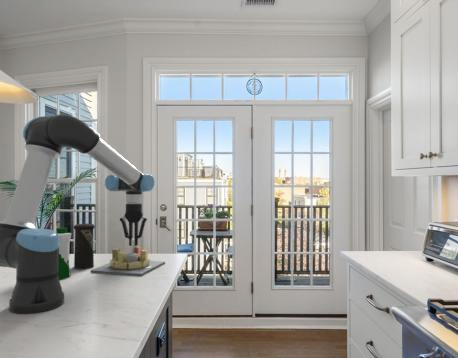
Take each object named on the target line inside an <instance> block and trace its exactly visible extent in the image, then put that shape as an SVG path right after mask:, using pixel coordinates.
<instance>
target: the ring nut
mask: <svg viewBox="0 0 458 358" xmlns="http://www.w3.org/2000/svg"><path fill="white" fill-rule="evenodd" d="M111 251H112V255H111V257H112V258H111V259H110V260H109V263H110V266H111V267H112V268H114V269H125V270H127V269H137V268H142V267H145V266H147V265H149V261H150V258H149V256H148V255H149V253H148V252H149V250H148V249H147V250H146V249H142V246H136V247H134V253H136V254H138V261H137V262H126V254H127V252H125V251H121V249H120V248H112V250H111Z"/></svg>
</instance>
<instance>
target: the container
mask: <svg viewBox="0 0 458 358" xmlns="http://www.w3.org/2000/svg"><path fill="white" fill-rule="evenodd" d="M95 227H96V225H95V224H93V223H76V224H75V225H73V229H74V255H73V257H74V259H73V261H74V262H73V267H74V269H77V270H85V269H86V270H87V269H91V268H93V267H95V266H94V265H95V260H94V259H95V258H94V256H95V255H94V253H95V251H94V248H95V247H94V244H95V243H94V229H95Z"/></svg>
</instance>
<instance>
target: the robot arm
mask: <svg viewBox="0 0 458 358" xmlns="http://www.w3.org/2000/svg"><path fill="white" fill-rule="evenodd" d="M22 131H23V132H22V137H23V138H24V142H25V145H24V149H25V150H26V152H27V154H26V157H25V160H24V163H23V166H22V169H21V172H20V175H19V179H18V182H17V185H16V188H15V191H14V194H13V196H12V200H11V202H10V206H9V209H8V211H7V215H6V217H5V218H4V219H3V220H1V221H0V267H1V268H3V267H4V268H11V269H16V273H15V274H16V276H15V277H16V280H15V286H14V288H13V291H12V294H11V298H9V302H8V310H9V312H11V313H15V314H34V313H35V314H36V313H41V312H46V311H51V310H53V309H54V310H55V309H56V308H58V307H60V306H62V305H63V304H64V302H65V293H64V291H63V289H62V286H61V285H62V284H61V281H60V280H59V278H58V270H59V245H60V244H59V236H58V234H57V233H56V230H52V229H47V228H39V227H38V228H37V227H36V225H35V223H36V219H37V217H38V214H39V209H40V207H41V206H40V205H41V203H42V199H43V197H44V193H45V190H46V187H47V184H48V180H49V177H50V175H51V171H52V167H53V163H54V161H55V160H56V159H59V158H60V156H61V155H62V154H61V153H62V152H63V151H62V150H63V148H69V149H73V150H76V151H78V152H79V153H81V154H82V155H88V156H89V157H90V158H92V159H93V160H95V162H97V163H99V164H100V165H101V166H103V167H104V168H105V169H106V170H108V171H109V172H111V173H112V174H109V175H107V176H106V177H105V180H104V186H105V188H106V190H108V191H109V192H125V203H126V204H125V213H124V216H122V217H119V221H120V223H121V225H122V230H123V233H124V237H125V238H126V239H128V246H130V248H131V249H130V250H131V251H130V253H134V247H138V245H139V239H141V238H142V237H143V232H144V229H145V225H146V222H147V221H148V217H145V216H144V213H143V207H142V206H143V204H142V203H143V193H145V192H151V191H152V190H153V189H154V186H155V183H156V182H155V178H154V176H153V175H152V174H149V173H142V171H141V170H139V169H137V168H136V167H135V166H134V165H133V164H132V163H131V162H130V161H128V160H127V159H126V158H124V157H123V156H122V154H120V153H118V152H117V151H116V150H115V149H114V148H112V147H111V145H109V144H108V143H107V142H106V141H104V140H103V139H102V138H101V135H100V133H99V132H98V131H97V130H95V129H94V128H93V127H92V126H90V125H89V124H87V123H86V122H84V121H83V120H82V119H79V118H77V117H75V116H73V115H71V114H70V115H69V114H64V113H63V114H62V113H61V114H56V115H50V116H46V115H45V116H44V115H43V116H38V117H36V118H33V119H31V120H29V121H28V122H27V123H26V124H25V126H24V128H23V130H22ZM126 220H127V222H128V227H127V222H126ZM140 221H141V225H140V228H139V223H140ZM133 232H134V233H133Z"/></svg>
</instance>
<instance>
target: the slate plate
mask: <svg viewBox="0 0 458 358" xmlns="http://www.w3.org/2000/svg"><path fill="white" fill-rule="evenodd" d="M137 261H138V254H136V253H131V252H129V253H127V252H126V262H137ZM163 265H166V261H164V260H162V261H161V260H160V261H159V260H149V265H147V266H145V267H142V268H137V269H127V270H125V269H114V268H112V267H111V266H110V262H109V263H106V264H103V265H101V266H98V267H95V268H93V269H90V272H92V273H93V274H103V273H107V274H106V275H108V274H109V275H117V276H118V275H121V276H131V277H132V276H135V277H143V276H145V275H146V274H149V273H150V272H152V271H154V270H156V269H158V268H160V267H161V266H163Z"/></svg>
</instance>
